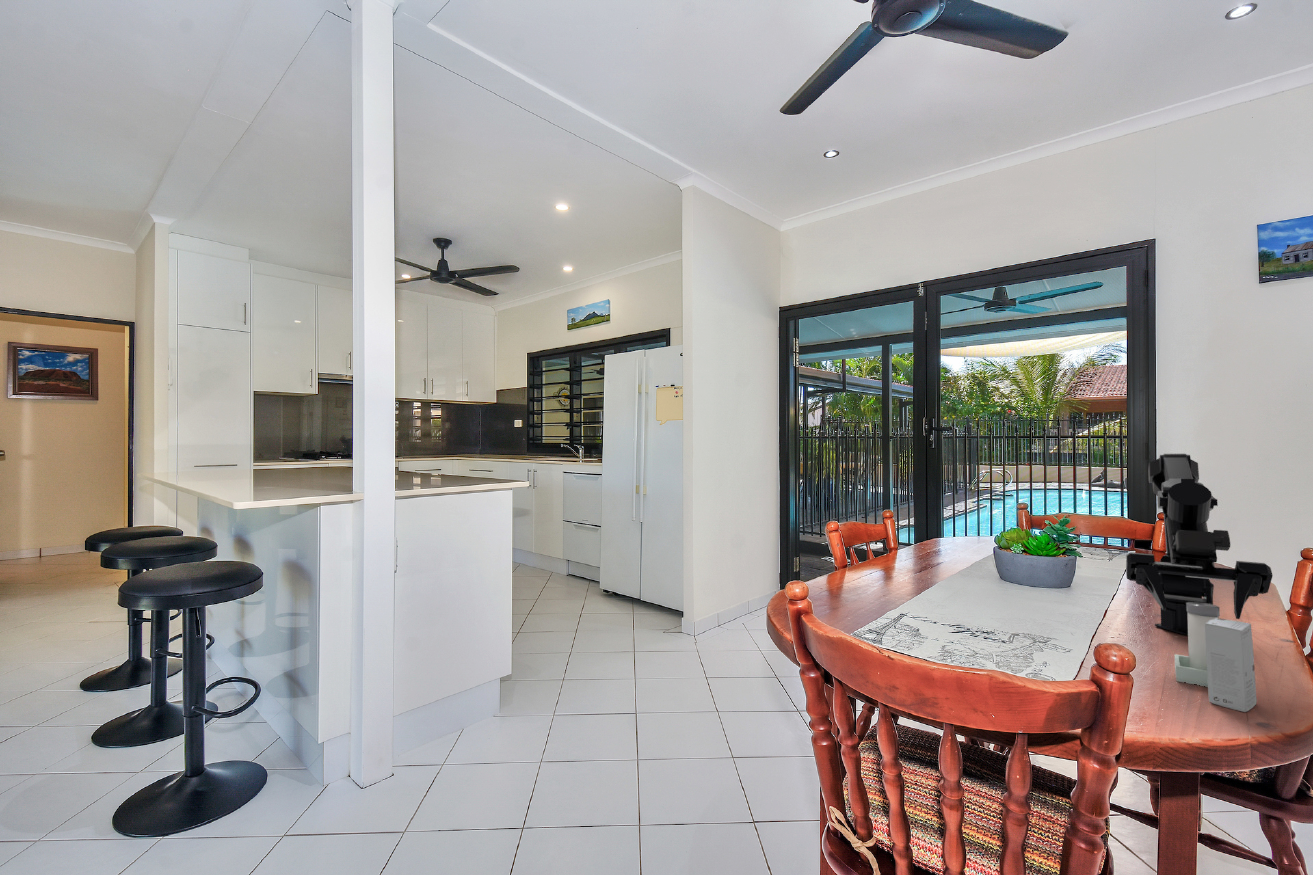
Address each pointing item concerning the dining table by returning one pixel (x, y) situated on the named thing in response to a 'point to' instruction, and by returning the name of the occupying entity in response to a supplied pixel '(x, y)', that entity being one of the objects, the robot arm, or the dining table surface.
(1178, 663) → the tray
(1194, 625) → the cylinder
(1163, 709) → the dining table surface
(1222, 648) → the skincare box
